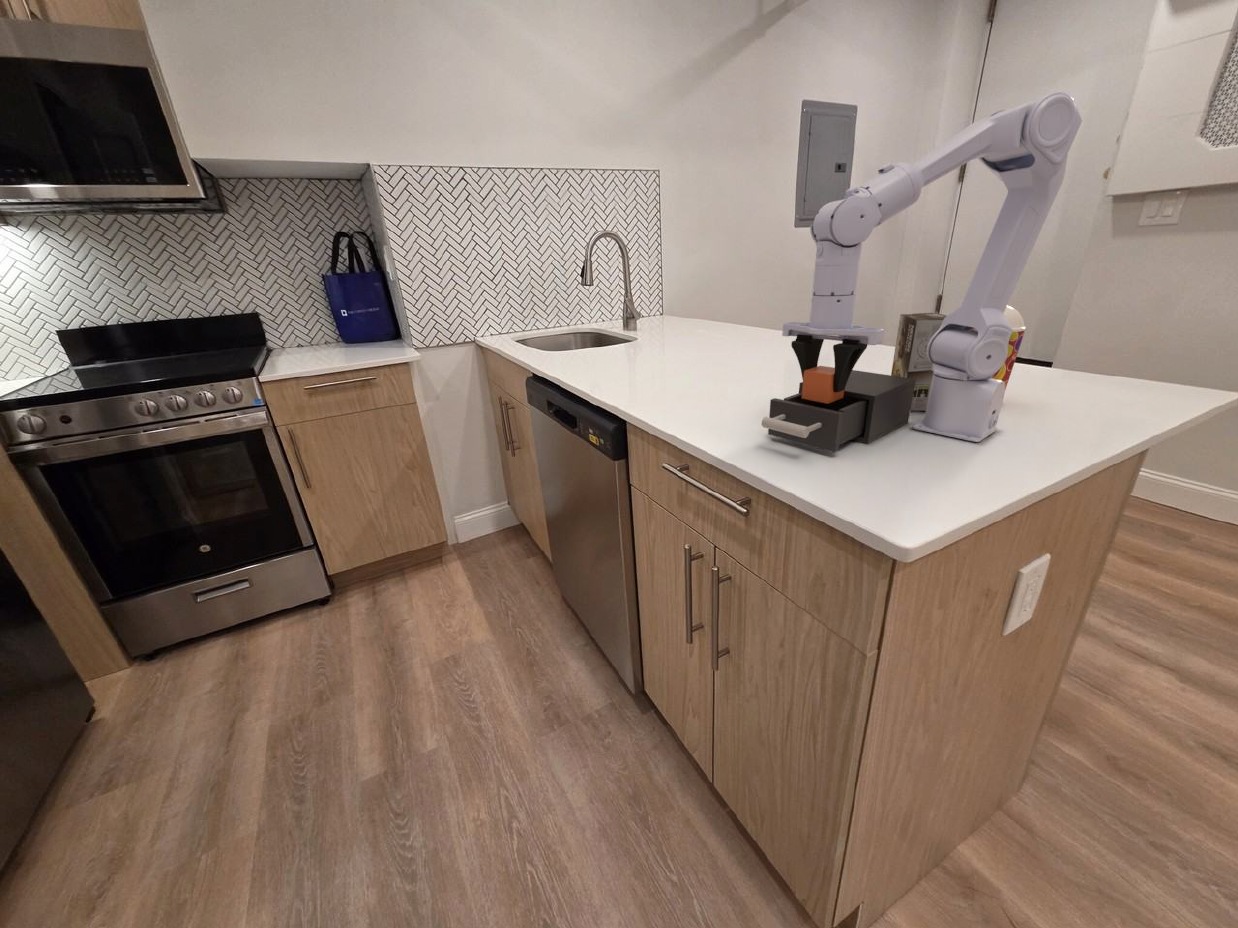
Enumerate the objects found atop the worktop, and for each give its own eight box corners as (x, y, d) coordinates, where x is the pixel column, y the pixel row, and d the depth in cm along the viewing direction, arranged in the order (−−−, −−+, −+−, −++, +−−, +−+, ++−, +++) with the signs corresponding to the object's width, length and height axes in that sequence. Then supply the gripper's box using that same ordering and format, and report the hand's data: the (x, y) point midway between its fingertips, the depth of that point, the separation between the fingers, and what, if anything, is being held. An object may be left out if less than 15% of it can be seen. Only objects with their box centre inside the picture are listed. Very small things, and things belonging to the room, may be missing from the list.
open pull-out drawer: (814, 462, 70) (819, 422, 67) (748, 442, 78) (750, 406, 76) (877, 431, 79) (882, 396, 77) (811, 416, 88) (815, 384, 85)
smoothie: (944, 396, 98) (966, 287, 90) (991, 395, 97) (1018, 285, 89) (965, 408, 90) (991, 291, 82) (1016, 408, 89) (1048, 289, 81)
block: (843, 397, 77) (847, 369, 75) (827, 404, 74) (831, 374, 73) (817, 393, 80) (820, 365, 78) (801, 398, 77) (803, 370, 76)
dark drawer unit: (867, 444, 77) (875, 396, 74) (795, 426, 86) (799, 382, 83) (908, 423, 85) (916, 379, 82) (837, 408, 94) (842, 368, 91)
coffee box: (939, 411, 89) (958, 318, 83) (900, 411, 91) (916, 319, 84) (922, 397, 98) (938, 311, 91) (886, 397, 99) (899, 312, 93)
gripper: (773, 295, 74) (767, 385, 80) (870, 298, 64) (855, 402, 69) (800, 291, 78) (793, 377, 83) (896, 293, 68) (880, 392, 73)
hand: (823, 388), depth 76 cm, fingers closed on block, 4 cm apart
